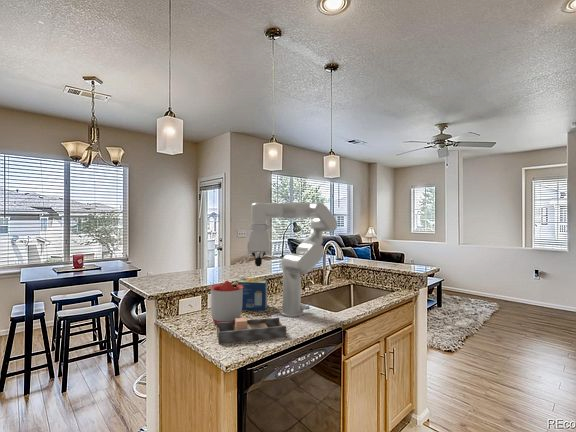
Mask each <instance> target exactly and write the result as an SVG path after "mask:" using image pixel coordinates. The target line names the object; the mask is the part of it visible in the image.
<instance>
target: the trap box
mask: <svg viewBox="0 0 576 432" xmlns="http://www.w3.org/2000/svg"><path fill="white" fill-rule="evenodd" d="M216 337H217V342H218V344H219V345H221V344H231V343H243V342H251V341H261V340H269V339H279V338H280V339H282V338H287V325H283V324H282V323H281V322H280V317H271V318H259V319H258V318H257V319H247V329H244V330H236V329H235V321H231V322H219V323H217V324H216Z"/></svg>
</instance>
